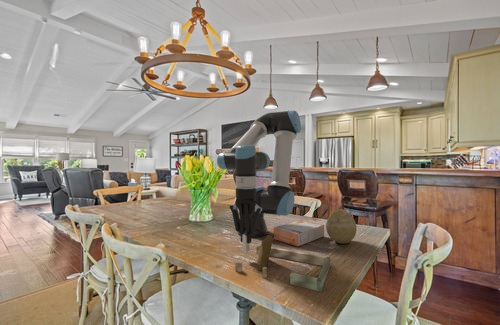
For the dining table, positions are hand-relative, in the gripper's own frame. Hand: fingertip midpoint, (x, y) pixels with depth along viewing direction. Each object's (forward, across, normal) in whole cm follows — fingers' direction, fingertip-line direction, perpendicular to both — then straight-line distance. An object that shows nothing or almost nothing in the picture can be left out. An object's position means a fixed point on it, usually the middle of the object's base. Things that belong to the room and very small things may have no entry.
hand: (246, 251), depth 87 cm
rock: (+4, +6, 0) cm, 8 cm away
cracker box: (+1, +15, +43) cm, 45 cm away
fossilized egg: (+4, +29, +35) cm, 46 cm away
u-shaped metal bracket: (+3, +14, 0) cm, 15 cm away
